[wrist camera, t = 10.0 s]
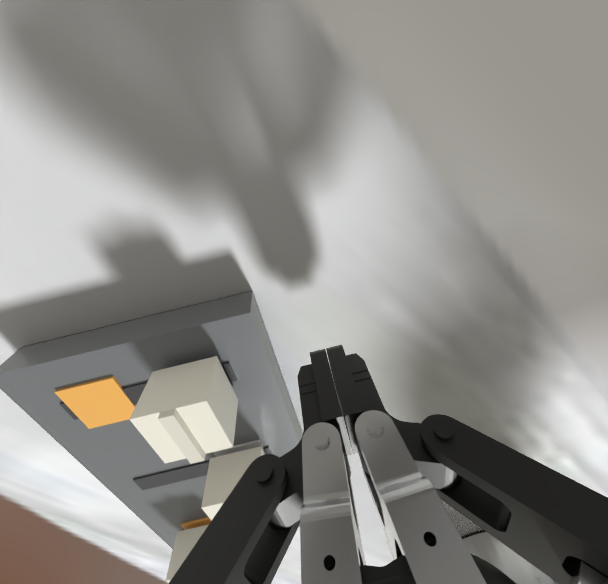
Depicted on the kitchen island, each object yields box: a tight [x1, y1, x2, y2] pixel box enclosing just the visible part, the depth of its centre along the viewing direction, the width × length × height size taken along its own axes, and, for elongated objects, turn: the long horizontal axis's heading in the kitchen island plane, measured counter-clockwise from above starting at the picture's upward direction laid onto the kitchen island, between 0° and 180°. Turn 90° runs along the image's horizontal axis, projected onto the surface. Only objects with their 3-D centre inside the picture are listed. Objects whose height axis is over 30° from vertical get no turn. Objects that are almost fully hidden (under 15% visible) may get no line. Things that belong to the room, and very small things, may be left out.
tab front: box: [129, 356, 238, 464], centre depth 13 cm, size 3×3×3 cm
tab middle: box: [201, 446, 265, 521], centre depth 16 cm, size 3×3×3 cm
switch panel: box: [0, 291, 303, 549], centre depth 18 cm, size 12×20×2 cm, turn 12°
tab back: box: [166, 524, 209, 583], centre depth 19 cm, size 3×3×3 cm
